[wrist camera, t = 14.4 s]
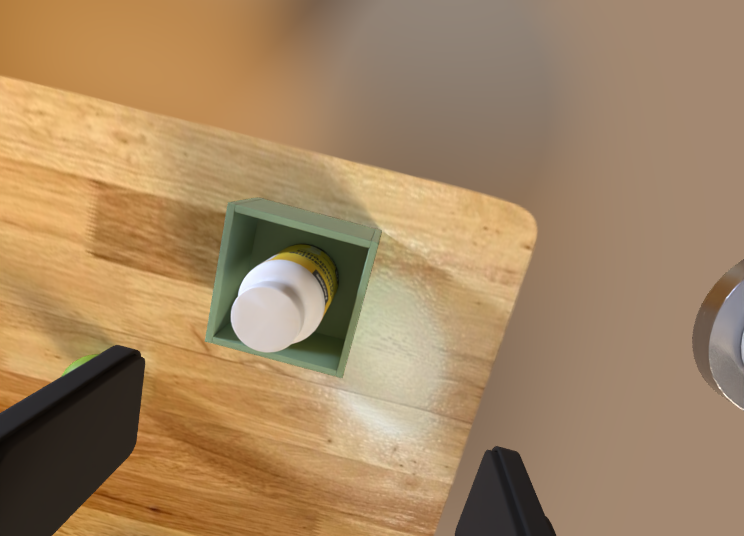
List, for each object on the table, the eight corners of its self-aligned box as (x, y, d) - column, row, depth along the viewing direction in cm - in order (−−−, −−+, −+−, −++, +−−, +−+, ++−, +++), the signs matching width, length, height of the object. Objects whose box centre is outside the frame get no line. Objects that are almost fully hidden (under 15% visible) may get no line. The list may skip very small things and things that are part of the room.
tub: (382, 230, 36) (378, 242, 30) (351, 345, 39) (342, 378, 32) (257, 197, 36) (227, 202, 30) (236, 314, 39) (204, 341, 32)
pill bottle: (351, 295, 37) (330, 348, 26) (289, 317, 38) (243, 378, 27) (323, 231, 36) (289, 258, 24) (260, 256, 37) (200, 293, 25)
